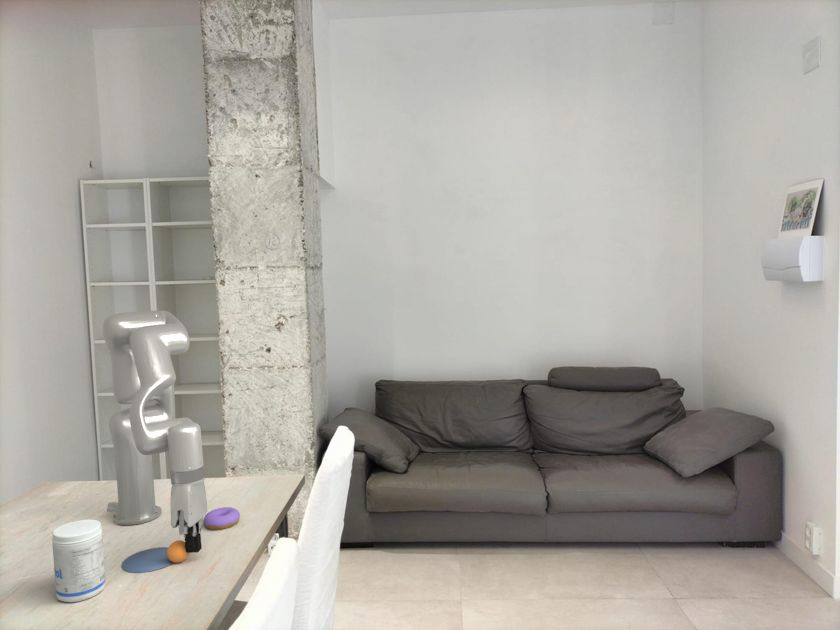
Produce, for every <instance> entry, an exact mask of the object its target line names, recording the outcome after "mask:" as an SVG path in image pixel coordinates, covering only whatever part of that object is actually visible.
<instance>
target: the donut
mask: <svg viewBox="0 0 840 630" xmlns="http://www.w3.org/2000/svg"><path fill="white" fill-rule="evenodd" d="M240 518H241V513H240V511H239V510H238V509H237V508H234V507H231V506H230V507H229V506H226V507H224V506H223V507H219V508H215V509H212V510H211V511H209V512H207V513H206V515H205V516H204V517H203V519H202V522H203V523H204V524H203V525H204V526H205V527H206V528H207V529H209V530H211V531H220V530H227V529H229V528H233V526H235V525H236V524H237V523H238V522H239V520H240ZM226 528H227V529H226Z"/></svg>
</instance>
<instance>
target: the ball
mask: <svg viewBox="0 0 840 630" xmlns="http://www.w3.org/2000/svg"><path fill="white" fill-rule="evenodd" d="M189 554H190V553H187V552H186V547H185V540H175V541H172V542H171V543H170V544H169V546H168V549H167V556H168V558H169V560H170V561H172V562H174V564H175V563H177V564H179V563H181V562H183V561H185V560H186V559H187V558H188V557H189Z"/></svg>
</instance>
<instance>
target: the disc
mask: <svg viewBox="0 0 840 630" xmlns="http://www.w3.org/2000/svg"><path fill="white" fill-rule="evenodd" d="M168 547H169V546H168ZM168 547H167V546H163V547H152V548H148V549H144V550H140V551H138V552H135V553H133V554H131V555H129V556H128V557H126V558H125V559H124V560H123V561H122V562H121V569H122V570H123V571H125V572H127V573H133V574H134V573H135V574H137V573H138V574H139V573H140V574H141V573H148V572H149V573H150V572H154V571H157V570H158V571H159V570H161V569H164V568H167V567H168V566H170V565H172V564H175V562H172V561H170V560H169V558H168V556H167V549H168Z"/></svg>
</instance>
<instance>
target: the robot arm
mask: <svg viewBox="0 0 840 630" xmlns="http://www.w3.org/2000/svg"><path fill="white" fill-rule="evenodd" d="M102 334H103V339H104V341H105V344H106V346H107V348H108V351H109V354H110V358H111V373H112V374H111V377H112V378H111V379H112V390H113V398H114V400H115V401H116V403H118V404H120V405H130V407H127V408H123V409H119V410H117V411H116V412H114V413H112V414H111V416H110V417H109V420H108V428H109V433H110V437H111V440H112V444H113V453H114V459H115V461H114V462H115V463H114V464H115V473H116V474H115V475H116V487H117V488H116V489H117V500H118V501H117V502H114V501H113V502H110V501H109V502H108V503H107V506H106V507H107V508H106V512H111V513H112V512H114V513H115V514H114V516H113V518H112V519H113V523H114V524H116V525H118V526H133V525H139V524H144V523H149V522H150V521H153V520H155V519H157V518H159V517H160V516H161V514H162V513H163V512H162V508H161V507H160V506H158V505H156V495H155V483H154V482H155V481H154V480H155V479H154V467H153V466H154V465H153V455H157V454H158V455H159V454H162V453H166V452H167V453H168V461H169V471H170V482H171V483H170V484H171V489H170V524H171V525H170V526H171V527H172V528H173V529H176V528H177V527H178V534H179V535H180V536H181V535H183V538H184V542H185V547H186V552H187V553H189V554H190V553H192V554H193V553H199V552H200V551H201V550H202V536H201V535H202V534H201V532H202V522H203V520H204V518H205V516H206V514H207V513H208V502H207V501H208V500H207V494H206V492H207V491H206V486H205V480H206V478H205V477H206V476H205V466H204V465H205V464H204V452H203V441H202V430H201V426H200V424H199V423H197V422H195V421H193V420H192V419H190V418H189V417H179V418H178V417H177V418H176V397H175V382H176V380H177V376H176V371H175V369H174V365H173V362H172V358H171V356H175V355H183V354H185V353H187V351H189V348H190V344H191V343H190V342H191V340H190V336H189V332H188V330H187V328H186V326H185V325H184V324H183V323H182V321H180V320H179V318H177V317H176V316H175V315H174V314H173V313H171V312H170V311H167V310H163V309H162V310H148V311H147V310H146V311H129V312H127V311H126V312H119V313H114V314H111V315H108V316H107V317H106V318H105V319H104V321H103V322H102ZM152 401H154V402H155V403H152V404H147V402H152ZM146 404H147V405H146Z"/></svg>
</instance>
